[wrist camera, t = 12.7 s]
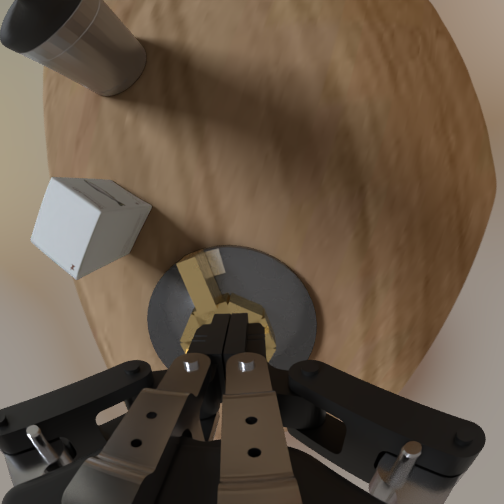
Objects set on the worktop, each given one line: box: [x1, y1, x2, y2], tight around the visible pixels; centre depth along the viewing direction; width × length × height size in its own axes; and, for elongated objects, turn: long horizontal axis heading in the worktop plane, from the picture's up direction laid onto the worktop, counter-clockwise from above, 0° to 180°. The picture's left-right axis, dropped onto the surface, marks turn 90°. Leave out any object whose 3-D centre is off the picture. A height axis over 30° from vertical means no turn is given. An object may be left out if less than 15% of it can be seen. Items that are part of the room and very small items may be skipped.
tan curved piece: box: [176, 249, 276, 362], centre depth 32 cm, size 16×11×4 cm, turn 20°
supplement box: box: [31, 177, 152, 280], centre depth 27 cm, size 7×7×13 cm
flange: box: [147, 245, 317, 370], centre depth 33 cm, size 22×22×7 cm
